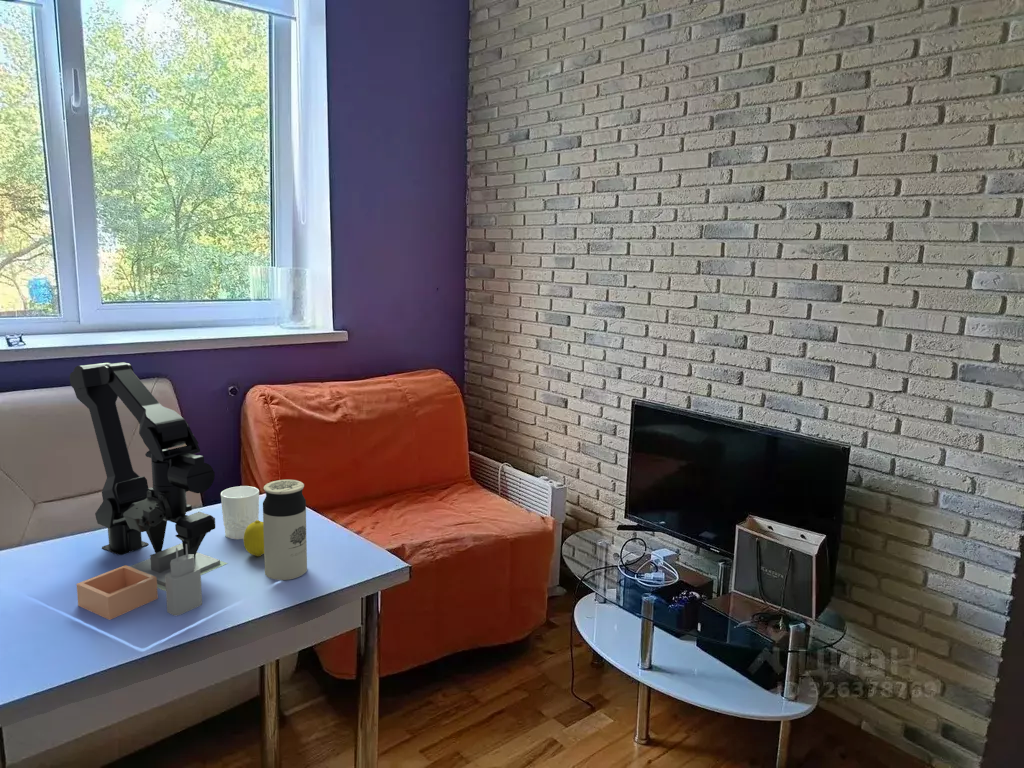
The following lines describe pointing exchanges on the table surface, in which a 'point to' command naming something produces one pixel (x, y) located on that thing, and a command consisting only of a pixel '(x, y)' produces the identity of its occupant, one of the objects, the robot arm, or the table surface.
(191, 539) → the robot arm
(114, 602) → the dish
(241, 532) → the white cup
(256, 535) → the lemon
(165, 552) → the lid
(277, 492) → the travel mug
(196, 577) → the power adapter
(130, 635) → the table surface
